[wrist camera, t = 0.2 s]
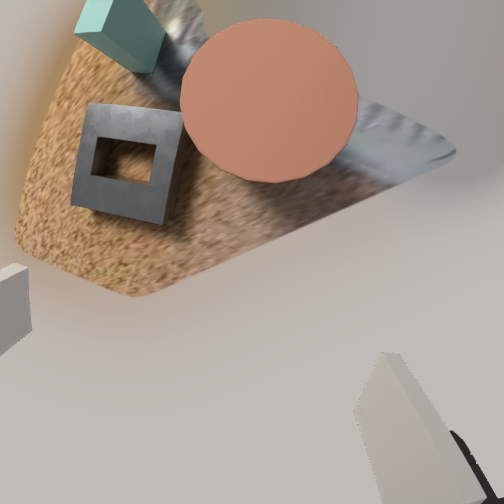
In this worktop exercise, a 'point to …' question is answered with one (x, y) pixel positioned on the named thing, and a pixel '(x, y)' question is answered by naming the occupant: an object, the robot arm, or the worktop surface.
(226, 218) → the worktop surface
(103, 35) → the keyed peg
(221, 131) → the coffee jar
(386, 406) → the robot arm
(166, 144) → the block
